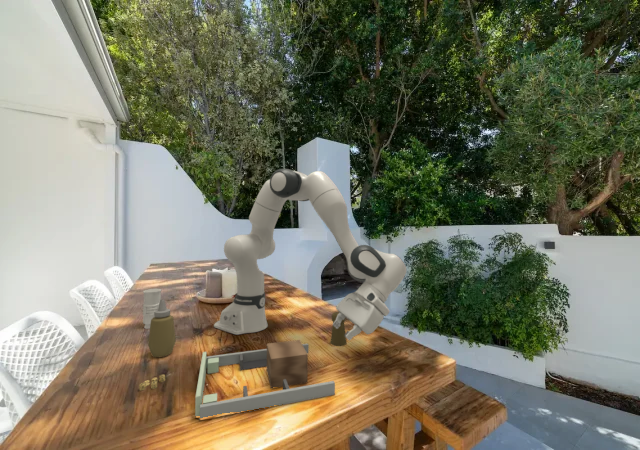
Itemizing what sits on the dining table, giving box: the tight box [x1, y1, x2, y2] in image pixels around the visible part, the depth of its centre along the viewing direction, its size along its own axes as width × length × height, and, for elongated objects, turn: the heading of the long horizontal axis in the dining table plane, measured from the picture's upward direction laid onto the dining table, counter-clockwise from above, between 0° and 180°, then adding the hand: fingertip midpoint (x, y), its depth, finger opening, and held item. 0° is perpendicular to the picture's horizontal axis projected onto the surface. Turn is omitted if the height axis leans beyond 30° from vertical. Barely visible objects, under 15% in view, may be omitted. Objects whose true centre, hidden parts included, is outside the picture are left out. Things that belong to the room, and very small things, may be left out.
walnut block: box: [266, 339, 309, 389], centre depth 81 cm, size 10×10×8 cm
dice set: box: [138, 374, 166, 392], centre depth 76 cm, size 5×5×2 cm
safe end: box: [194, 351, 220, 417], centre depth 75 cm, size 4×23×5 cm, turn 19°
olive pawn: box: [330, 311, 347, 347], centre depth 104 cm, size 6×6×11 cm
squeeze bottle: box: [147, 298, 177, 358], centre depth 94 cm, size 8×8×18 cm
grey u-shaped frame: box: [199, 343, 336, 419], centre depth 79 cm, size 32×25×3 cm
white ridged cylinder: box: [142, 288, 163, 330], centre depth 119 cm, size 7×7×15 cm
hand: (340, 332), depth 87 cm, fingers open, 8 cm apart
